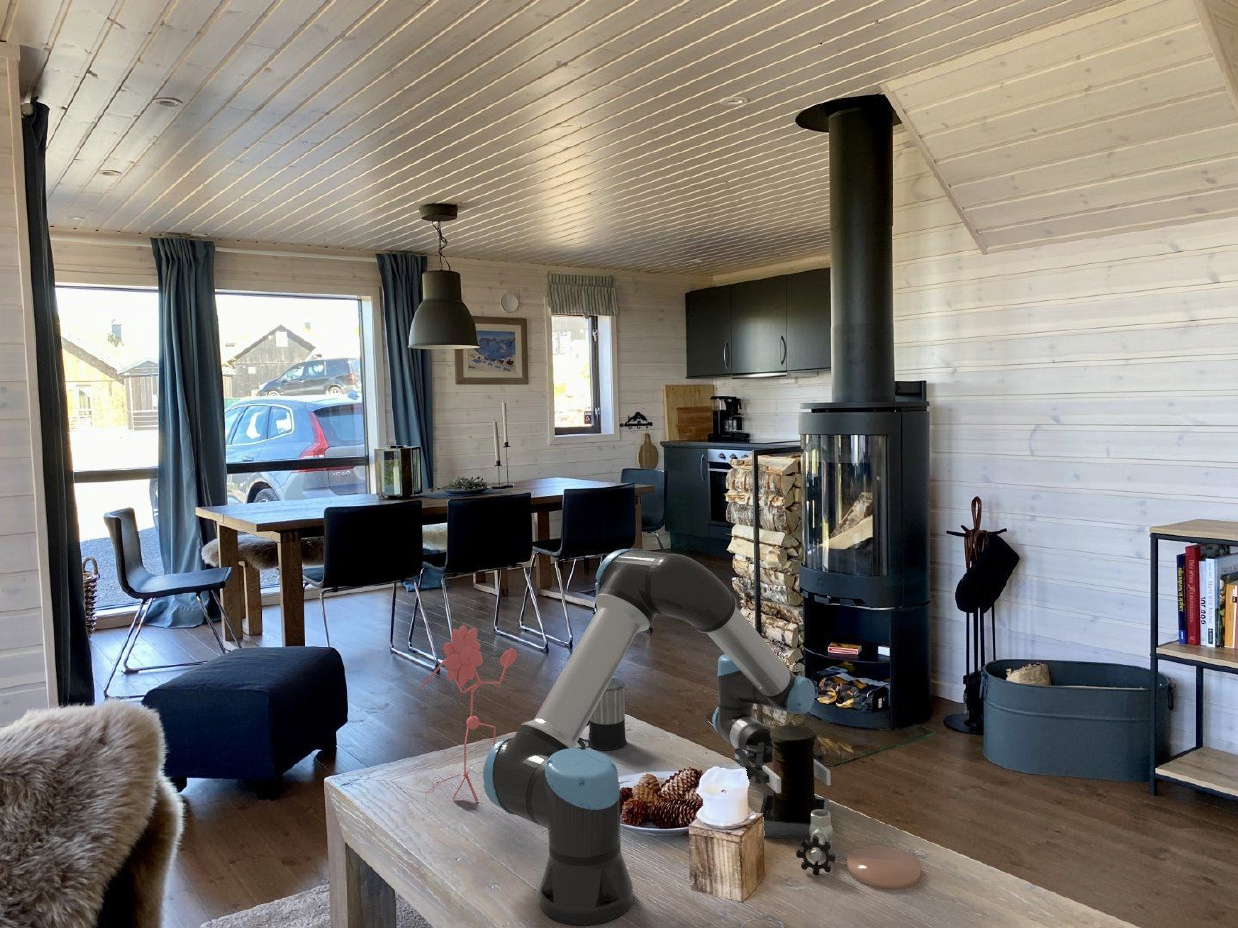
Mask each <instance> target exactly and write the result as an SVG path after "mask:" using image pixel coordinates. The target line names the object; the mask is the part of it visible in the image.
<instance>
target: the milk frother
mask: <svg viewBox="0 0 1238 928" xmlns="http://www.w3.org/2000/svg"><path fill="white" fill-rule="evenodd" d="M625 686H626V681H624V680H622V679H619V678H615V677H612V679H611V681H610V683H609V685H608V686H607V688H606V690H605V692H604V694H603V696H602V697H601V699H600V701H599V703H598V705H597V707H596V708H595V710H594V712H593V714H592V716H591V718H590V719H589V721H588V723H587V725H586V727H588V726H589V727H588V728H589V729H588V739H584V738H583V737H580V738H579V739H578V741H577V743H576V744H578V745H579V746H580V749H581V750H585V749H587V745H586V743H587V744H588V746H589V747H590V748H592V749H595V750H599V751H601V750H602V751H615V750H618V749H621V748H623V747H625V746H627V742H628V741H627V738H626V737H627V736H626V724H625V723H626V719H625V718H626V717H625V716H626V715H625V713H626V712H625V711H626V710H625V709H626V708H625V707H626V703H625V699H626V698H625V697H626V695H625Z"/></svg>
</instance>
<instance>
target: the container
mask: <svg viewBox="0 0 1238 928" xmlns="http://www.w3.org/2000/svg"><path fill="white" fill-rule="evenodd" d="M770 731H771V733H770V737H771V739H772V745H773V752H772V755H773V762H772V771H773V772H774V773H775V774H776V775H777V776H779V777H780V778H781V793H776V792H775V791H774V790H773V789H772V791H773V793H772V794H773V796H772V797H773V807H772V810H770V813H771V816H770V820H774V821H787V822H799V823H811V812H812V811H813V810H816V809H815V800H816V798H817V797H816V795H815V776H814V756H815V755H814V751H815V750H814V747H815V741H816V739H817V738H816V732H815V730H813V729H812V728H809V727H807V726H803V725H796V724H795V725H794V724H785V725H784V724H783V725H779V726H776V727H774V728H772V729H770ZM813 750H814V751H813Z"/></svg>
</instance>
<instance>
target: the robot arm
mask: <svg viewBox="0 0 1238 928" xmlns="http://www.w3.org/2000/svg"><path fill="white" fill-rule="evenodd" d="M595 580H596V583H594V584H595V586H594V587H595V593H596V596H595V597H594V602H595V605H596V609H597V610H596V612H595V614H594V615H593V617H592V619H590V620H591V621H590V622H589V623H588V626H587V628H586V629H585V631H584V633H582V636H581V638H580V639H579V641H578V642H577V645H576V647H575V648H574V650H573V651H572V653H571V655H570V657H569V658H568V660H567V661H566V664H565V665H564V667H563V669H562V671H561V672H560V674H559V676H558V678H557V679H556V680H555V682H554V684H553V686H552V688H551V689H550V692H549V693H548V695H547V696H546V698H545V700H544V701H543V703H542V705H541V707H540V708H539V710H538V712H537V714H536V715H535V717H534V719H532V720H528V721H525V722H522V723H521V724H520V725H519V728H518V729H517V731H516V733H515V734H514V736H511V737H506V738H503V739H502V740H499V741H497V742H495V745H494V744H493V746H492V747H491V748H490V750H489V752H488V754H487V755H486V757H485V761H484V764H483V769H482V779H483V789H484V792H485V794H486V796H487V798H488V799H489V801H491V803H493V804H494V805H495V806H496V807H498V808H501V809H502V810H503V811H505V812H506V813H507V814H509V815H515V816H517V817H521V818H522V819H525V820H527V821H529V822H531V823H534V824H536V825H539V826H540V827H543V828H545V829H547V831H548V850H549V851H548V854H549V855H548V860H547V862H546V866H545V869H544V873H543V877H542V879H541V883H540V887H539V905H540V908H541V910H542V912H543V913H544V914H545V915H546V916H548V917H549V918H551V919H553V920H554V921H557V922H559V923H562V924H563V923H564V924H567V925H574V926H575V925H576V926H588V925H589V926H590V925H598V924H602V923H605V922H607V923H608V922H609V921H614V919H617V918H619V917H621V916H622V915H624V914H625V913H626V912H627V911H628V910H630V908H631V906H632V905H633V902H634V888H633V887H634V886H633V882H632V878H631V876H630V873H629V870H628V868H627V865H626V861H625V859H624V856H623V855H622V845H621V785H620V783H619V772H618V769H617V768H618V767H617V766H616V764H615V762H614V761H613V760H612V759H611V758H610V757H608V755H606V754H604V753H602V752H599V751H596V750H593V749H589V748H586V749H585V750H581V749H580V748H581V747H580V748H579V747H577V744H578V743H577V741H578V739H579V738H581V735H582V734H583V732H584V730H585V728H586V727H587V726H586V725H587V723H588V721H589V719H590V718H591V716H592V714H593V712H594V710H595V708H596V707H597V705H598V703H599V701H600V699H601V697H602V696H603V694H604V692H605V690H606V688H607V686H608V685H609V683H610V681H611V679H612V678H614V676H615V673H616V671H617V670H618V668H619V666H620V664H621V663H622V661H623V659H624V658H625V656H626V654H627V651H628V650H629V647H630V646H631V644H632V642H633V641H634V639H635V637H636V635H637V633H641V632H645V631H648V629H649V628H650V627H651V624H652V623H653V621H654V619H655V617H656V616H657V615H658V616H659V615H661V616H665V617H667V616H668V617H673V618H676V619H679V620H683V621H684V622H687V623H688V624H690V625H691V626H692V627H693V629H695V630H696V631H697V632H699V633H702V634H707V635H708V636H709V637H710V639H711V640H712V641H713V642H714V643H715V644H716V646H718V647H719V648H720V650H721V651H722V652H723V653H724V654H722V655H720V656H719V658H718V659H717V664H718V665H717V674H716V676H717V693H718V694H717V696H718V705H717V708H716V709H715V711H714V712H713V715H712V726H713V728H714V730H715V731H716V733H717V734H718V736H720V738H722V740H724V741H726V742H727V743H728V744H730V745H731V746H732V747H733V748H734V762H735V763H737V764H738V765H739V766H742V767H745V768H746V769H747V770H746V771H747V776H748V779H747V780H751V779H752V778H754V783H756V784H761V783H762V784H766V785H767V786H769V787H770V789H772V791H773V790H774V791H775V792H776V793H781V778H780V777H779V776H777V775H776V774H775V773H774V772H773V769H770V768H769V767H768V766H767V765H766V764H768V763H773V755H772V752H773V745H772V739H771V737H770V733H771V729H769V728H768V727H766V726H765V725H764V724H763V723H762V722H761V721H759V720H758V719H756V718H755V717H754V705H757V706H762V707H766V708H769V709H773V710H778V711H781V712H786V713H788V714H795V715H805V714H806V713H808V712H809V711H810V710H811V709H812V707H813V704H814V702H815V697H816V690H815V685H814V683H813V682H812V680H811V679H809V678H807V677H803V676H802V675H795V674H793V672H792V671H791V670H790V669H789V668H788V666H787V665H786V664H785V663H784V662H783V660H781V658H780V657H779V656H778V654H777V653H776V652H775V651H774V650H773V649H772V648H771V646H770V645H769V644H768V643H767V642H766V640H765V639H764V638H763V637H762V636H761V634H760V633H759V631H757V630H756V628H754V626H753V625H752V624H751V622H750V621H749V620H748V619H747V618H746V617H745V615H744V614H743V613H742V612H741V610H739V608H738V606H737V601H736V600H737V599H736V597H735V596H734V594H733V593H732V592H731V590H730V589H729V588H728V587H727V585H726V584H725V583H724V582H723V581H721V579H719V578H718V577H717V576H716V575H715V574H714V573H713V572H712V571H710V570H709V569H708V568H707V567H705V566H704V565H703V564H701V563H699V562H698V561H697V560H694V559H693V558H692V557H689V556H686V555H683V554H679V553H671V552H670V553H669V552H658V551H648V550H644V549H640V548H628V549H627V548H623V549H617V550H615V551H613V552H611V553H609V554H608V555H607V556H606V557H604V559H603V561H602V562H601V564H600V565H599V567H598V569H597V572H596V575H595ZM813 751H814V755H815V756H814V778H816V779H818V780H819V781H820V782H822V783H823V784H825V786H827V787H828V786H831V785H832V784H831V770H829V769H828V767H827V766H826V755H825V754H823V753H821V752H819V751H816V750H814V749H813ZM751 764H752V765H754V766H752V765H751Z"/></svg>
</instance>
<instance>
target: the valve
mask: <svg viewBox="0 0 1238 928" xmlns="http://www.w3.org/2000/svg"><path fill="white" fill-rule="evenodd" d="M831 815H832V814H831V812H830V811H829V810H828V811H826V810H822V809H817V810H813V811H812V812H811V824H810V827H809V834H810V837H811V841H810V842H809V843H808V841H807V840H806V839H802V840H800V847H802V848H803V849H802V850H801V849H797V850H796V852H795V854H796V855H795V856H796V858H797V859H803V861H801V865H800V868H801V869H802V870H803V871H806V870H808V868H811V869H812V875H813V876H817V875H818V876H819V875H820V873H821V870H822V869H823V871H824V872H825V873H830V872H831V871H832V865H829V862H830V863H835V862H836V860H837V855H836V854H835V853H831V854H830V852H831V851H832V839H833V836H834V829H833V826H832V824H831V821H832V816H831ZM808 850H810V858H811V859H812V861H814V863H812V862H811V861H810V860H809V859H808V857H807V852H808ZM823 854H824V855H825V861H823V862H822V863H820V864H819V862H820V860H821V859H822V858H823Z"/></svg>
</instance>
